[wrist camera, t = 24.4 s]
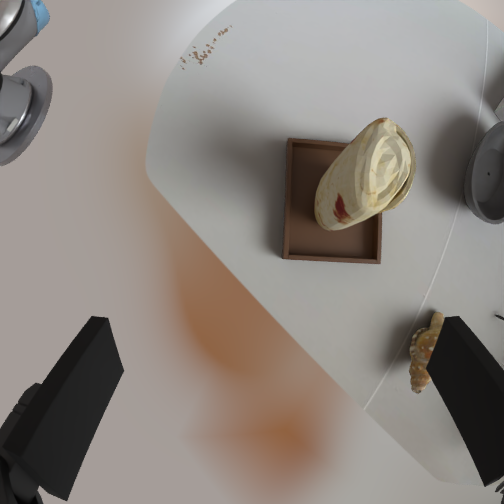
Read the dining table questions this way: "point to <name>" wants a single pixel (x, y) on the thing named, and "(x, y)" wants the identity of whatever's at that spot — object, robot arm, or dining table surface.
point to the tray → (500, 110)
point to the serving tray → (303, 218)
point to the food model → (366, 177)
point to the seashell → (423, 352)
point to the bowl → (487, 177)
